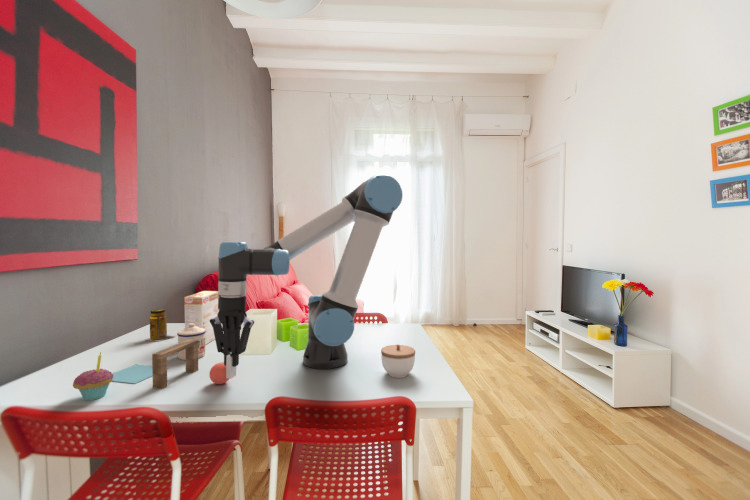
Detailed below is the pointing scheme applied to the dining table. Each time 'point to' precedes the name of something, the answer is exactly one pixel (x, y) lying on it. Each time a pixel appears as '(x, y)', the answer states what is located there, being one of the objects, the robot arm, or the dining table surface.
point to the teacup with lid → (193, 334)
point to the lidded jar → (398, 360)
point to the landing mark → (133, 374)
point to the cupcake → (93, 382)
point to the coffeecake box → (202, 311)
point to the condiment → (158, 325)
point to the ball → (218, 373)
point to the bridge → (161, 361)
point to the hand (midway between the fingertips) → (231, 376)
